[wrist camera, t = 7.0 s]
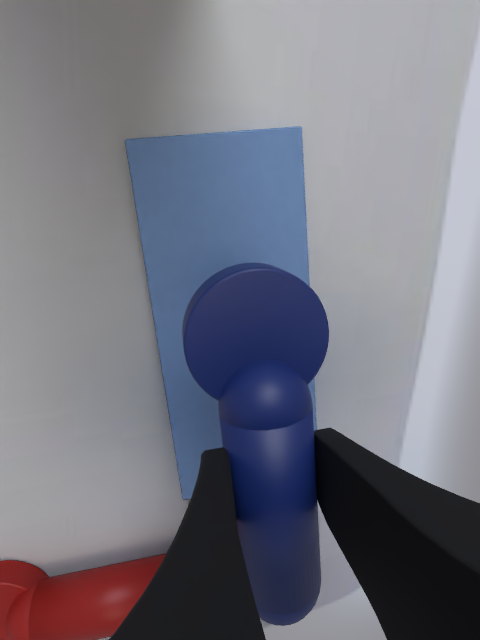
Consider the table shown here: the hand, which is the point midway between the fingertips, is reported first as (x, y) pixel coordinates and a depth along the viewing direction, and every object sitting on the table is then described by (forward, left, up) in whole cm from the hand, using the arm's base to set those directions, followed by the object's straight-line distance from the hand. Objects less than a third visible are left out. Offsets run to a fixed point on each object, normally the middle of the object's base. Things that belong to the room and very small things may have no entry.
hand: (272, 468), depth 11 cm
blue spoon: (0, 0, -1) cm, 1 cm away
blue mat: (+2, 0, -6) cm, 7 cm away
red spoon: (-9, +8, -6) cm, 13 cm away
